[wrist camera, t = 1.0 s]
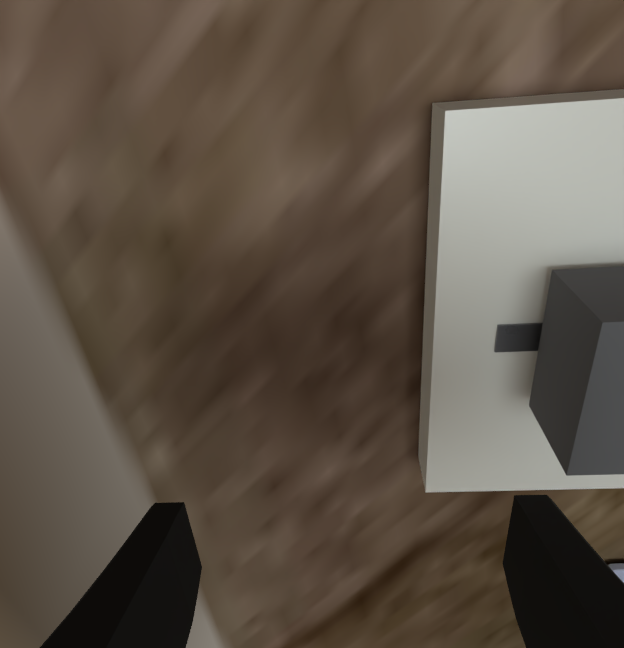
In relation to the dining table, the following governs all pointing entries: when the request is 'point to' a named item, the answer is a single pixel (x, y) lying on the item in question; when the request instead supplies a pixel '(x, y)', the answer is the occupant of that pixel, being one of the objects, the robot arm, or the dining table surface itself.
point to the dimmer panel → (508, 274)
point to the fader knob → (582, 370)
